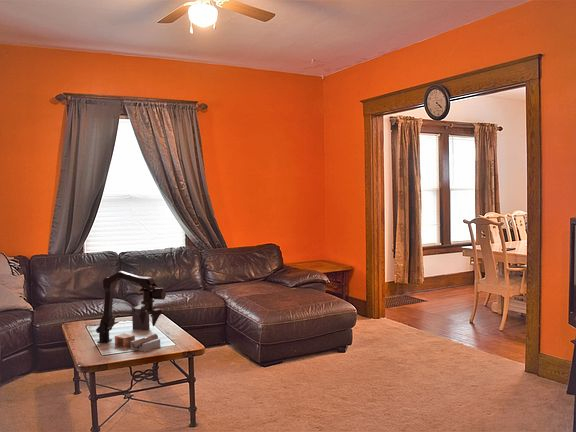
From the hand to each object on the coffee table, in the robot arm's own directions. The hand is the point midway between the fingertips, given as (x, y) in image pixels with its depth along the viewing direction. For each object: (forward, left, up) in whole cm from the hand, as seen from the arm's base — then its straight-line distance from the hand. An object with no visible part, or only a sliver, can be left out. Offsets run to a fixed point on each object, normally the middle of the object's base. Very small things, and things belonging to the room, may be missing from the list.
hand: (148, 324), depth 317 cm
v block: (+7, +1, -11) cm, 14 cm away
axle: (+7, +1, -10) cm, 12 cm away
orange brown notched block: (+5, -13, -11) cm, 18 cm away
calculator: (-33, -20, -12) cm, 40 cm away
